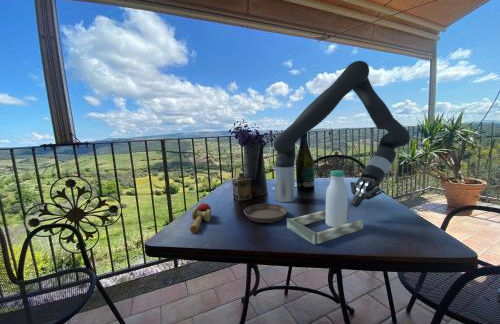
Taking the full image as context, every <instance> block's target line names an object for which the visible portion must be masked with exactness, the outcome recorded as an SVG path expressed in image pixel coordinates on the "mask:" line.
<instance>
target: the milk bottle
mask: <svg viewBox="0 0 500 324" xmlns="http://www.w3.org/2000/svg"><path fill="white" fill-rule="evenodd" d="M325 210H326V219H325V224H326V225H327V226H328V227H329V228H330V227H331V228H334V227H337V226H340V225H344V224H347V223H349V191H348V188H347V186H346V183H345V171H344V170H342V169H341V170H339V169H334V170H333V169H332V170H331V171H330V182H329V185H328V186H327V188H326V192H325Z"/></svg>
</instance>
